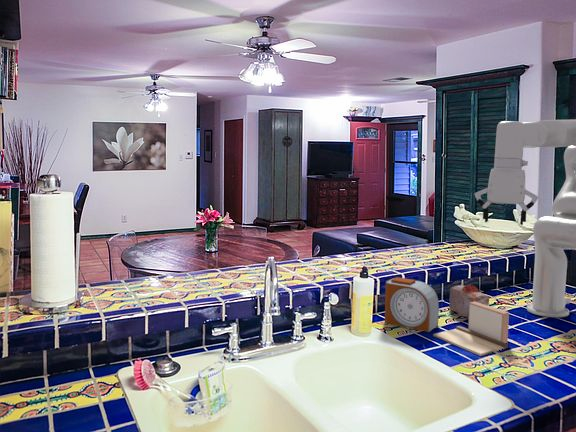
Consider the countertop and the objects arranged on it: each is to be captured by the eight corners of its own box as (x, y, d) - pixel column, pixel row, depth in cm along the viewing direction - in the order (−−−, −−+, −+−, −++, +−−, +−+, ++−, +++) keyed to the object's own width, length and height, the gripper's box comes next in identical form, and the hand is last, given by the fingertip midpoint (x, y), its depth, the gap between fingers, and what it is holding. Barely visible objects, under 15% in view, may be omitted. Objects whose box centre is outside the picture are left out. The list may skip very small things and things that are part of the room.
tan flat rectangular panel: (456, 330, 162) (456, 328, 162) (504, 349, 147) (504, 347, 147) (433, 336, 157) (433, 334, 157) (480, 356, 142) (480, 353, 142)
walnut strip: (459, 329, 162) (459, 325, 162) (507, 348, 148) (507, 344, 148) (456, 330, 162) (456, 326, 161) (504, 349, 147) (504, 345, 147)
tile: (473, 330, 162) (474, 301, 160) (507, 343, 151) (509, 312, 150) (467, 332, 160) (468, 302, 159) (501, 345, 150) (503, 313, 149)
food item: (492, 320, 171) (494, 289, 170) (471, 323, 168) (472, 292, 167) (464, 307, 184) (465, 279, 182) (444, 310, 181) (445, 281, 180)
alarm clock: (382, 323, 169) (383, 280, 167) (393, 315, 175) (394, 274, 174) (428, 332, 160) (429, 287, 158) (438, 324, 167) (439, 281, 165)
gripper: (540, 165, 158) (535, 223, 160) (477, 163, 164) (474, 219, 166) (541, 165, 151) (536, 226, 153) (475, 163, 158) (471, 222, 160)
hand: (503, 223), depth 160 cm, fingers open, 9 cm apart
